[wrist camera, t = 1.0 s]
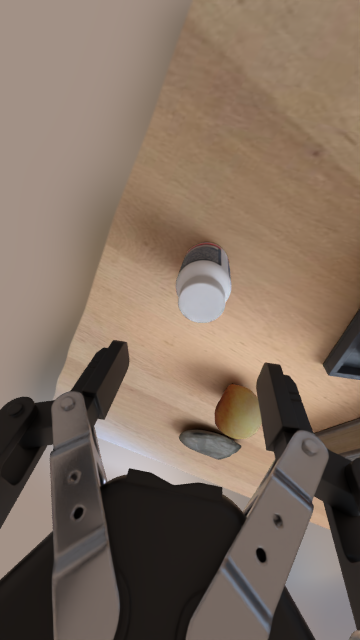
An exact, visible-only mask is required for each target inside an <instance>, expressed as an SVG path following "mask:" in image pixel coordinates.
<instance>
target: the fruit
mask: <svg viewBox="0 0 360 640" xmlns="http://www.w3.org/2000/svg"><path fill="white" fill-rule="evenodd" d="M215 424H216V425H217V427H218V429H219V430H220V431H221V432H222V433H223V434H225V435H227V436H229V437H232V438H235V439H246V438H249V437H251V436H252V435H254V434H255V433H256V432H257V431H258V429H259V428H260V426H261V424H262V420H261V414H260V408H259V402H258V398H257V396H256V395H255V394H254V393H253V392H252V391H251V390H249V389H248V388H246V387H243V386H240V385H234V384H233V383H232V384H231V385H229V386H228V387H227V388H226V389H225V392H224V393H223V395H222V397H221V399H220V401H219V402H218V404H217V406H216V409H215Z"/></svg>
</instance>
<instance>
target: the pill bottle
mask: <svg viewBox="0 0 360 640" xmlns="http://www.w3.org/2000/svg"><path fill="white" fill-rule="evenodd" d="M176 292H177V295H178V297H179V298H178V305H179V309H180V311H181V312H182V314H183V315H184V316H185V317H186V318H188V319H189V320H191V321H194V322H198V323H207V322H211V321H213V320H215V319H217V318H218V317H219V316H220V315H221V314H222V313H223V311H224V308H225V302H226V301H227V299H228V298H229V295H230V293H231V276H230V267H229V260H228V257H227V254H226V253H225V251H224V250H223V249H222V248H221V247H220V246H218V245H216V244H214V243H210V242H203V243H199V244H197V245H195V246H193V247H192V248H191V249H190V250H189V251H188V252H187V254H186V255H185V258H184V260H183V263H182V266H181V269H180V271H179V274H178V277H177V280H176Z"/></svg>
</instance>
